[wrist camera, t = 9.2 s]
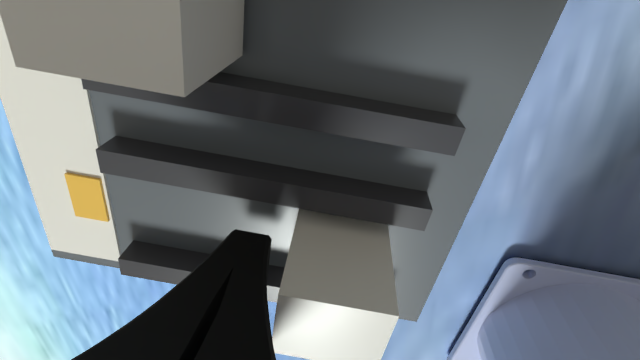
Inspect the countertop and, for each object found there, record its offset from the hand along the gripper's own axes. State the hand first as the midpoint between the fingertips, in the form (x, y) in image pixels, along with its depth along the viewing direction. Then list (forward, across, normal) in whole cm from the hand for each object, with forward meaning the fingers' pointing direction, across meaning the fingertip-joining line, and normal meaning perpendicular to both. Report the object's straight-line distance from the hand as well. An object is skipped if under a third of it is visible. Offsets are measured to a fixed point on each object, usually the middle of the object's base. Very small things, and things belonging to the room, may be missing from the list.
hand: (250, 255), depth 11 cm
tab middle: (+1, +2, -7) cm, 8 cm away
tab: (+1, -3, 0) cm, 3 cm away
